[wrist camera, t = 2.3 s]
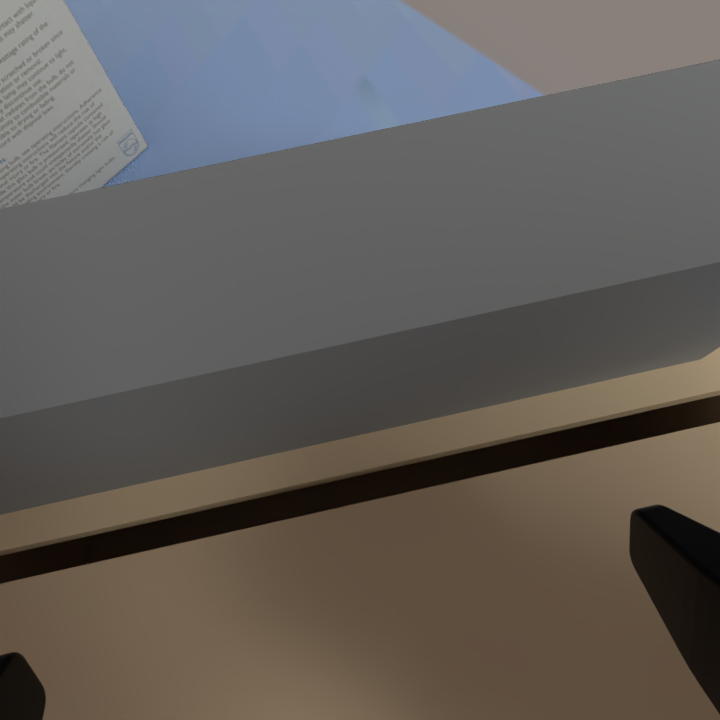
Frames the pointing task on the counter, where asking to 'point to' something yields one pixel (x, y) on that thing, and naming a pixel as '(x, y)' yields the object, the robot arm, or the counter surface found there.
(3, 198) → the light bulb box
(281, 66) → the counter surface
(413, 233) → the grey stone
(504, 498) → the carton
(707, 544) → the robot arm
